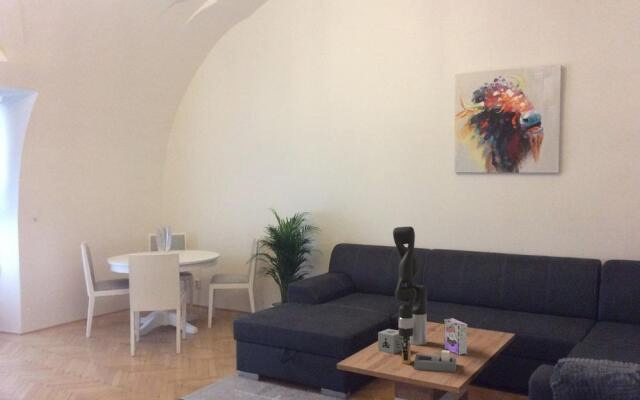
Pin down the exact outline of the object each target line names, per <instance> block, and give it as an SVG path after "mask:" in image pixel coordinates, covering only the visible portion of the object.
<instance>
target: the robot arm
mask: <svg viewBox="0 0 640 400" xmlns="http://www.w3.org/2000/svg"><path fill="white" fill-rule="evenodd" d="M392 237H393V243H394V245H395V247H396V250H397V254H398V258H399V265H398V281H397V286H396V289H395V292H394V297H395V299H396V300H397V301H398V302H408V303H407V304H402V305H400V306H399V307H398V331H399V335H400V336H403V338H402V350H403V351H401V353H402V352H403V359H404V361H407V360H408V349H409V348H411V347H410V345H415V346H424V345H427V342H428V340H427V339H428V338H427V333H428V330H427V327H428V325H427V310H428V309H427V308H428V306H427V305H428V288H427V287H426V285H420V284H414V282H413V281H414V280H415V278H416V276H417V275H418V273H419V270H420V266H419V263H418V259H417V257H416V256H415V255H414V252H415V243H416V241H415V240H416V239H415V238H416V234H415V229H414V227H413V226H397V227H394V229H393V230H392ZM405 245H407V247H406V246H405ZM404 285H405V286H404ZM415 302H419V304H418V305H415ZM414 305H415V306H414ZM404 350H406V351H404Z"/></svg>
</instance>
